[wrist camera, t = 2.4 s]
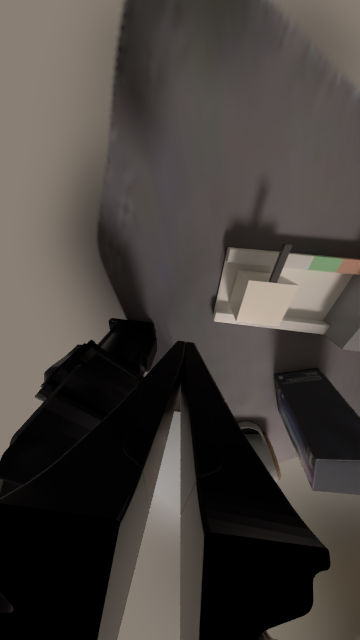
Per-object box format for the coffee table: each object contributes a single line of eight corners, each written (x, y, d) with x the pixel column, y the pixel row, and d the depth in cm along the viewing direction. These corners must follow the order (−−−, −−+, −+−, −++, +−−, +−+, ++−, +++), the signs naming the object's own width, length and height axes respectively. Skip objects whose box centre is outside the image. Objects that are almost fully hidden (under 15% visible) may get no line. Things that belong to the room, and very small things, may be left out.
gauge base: (213, 315, 19) (215, 333, 16) (227, 246, 15) (235, 251, 12) (337, 330, 18) (369, 352, 15) (389, 261, 14) (449, 271, 11)
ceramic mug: (269, 443, 35) (285, 492, 28) (232, 443, 37) (239, 489, 30) (264, 417, 30) (282, 469, 23) (223, 420, 32) (229, 468, 26)
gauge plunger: (229, 304, 18) (236, 321, 14) (246, 239, 14) (261, 242, 11) (263, 307, 18) (278, 326, 14) (289, 243, 14) (318, 247, 11)
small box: (270, 373, 23) (314, 461, 14) (319, 366, 22) (404, 461, 13) (276, 410, 28) (311, 494, 19) (316, 407, 26) (377, 498, 17)
